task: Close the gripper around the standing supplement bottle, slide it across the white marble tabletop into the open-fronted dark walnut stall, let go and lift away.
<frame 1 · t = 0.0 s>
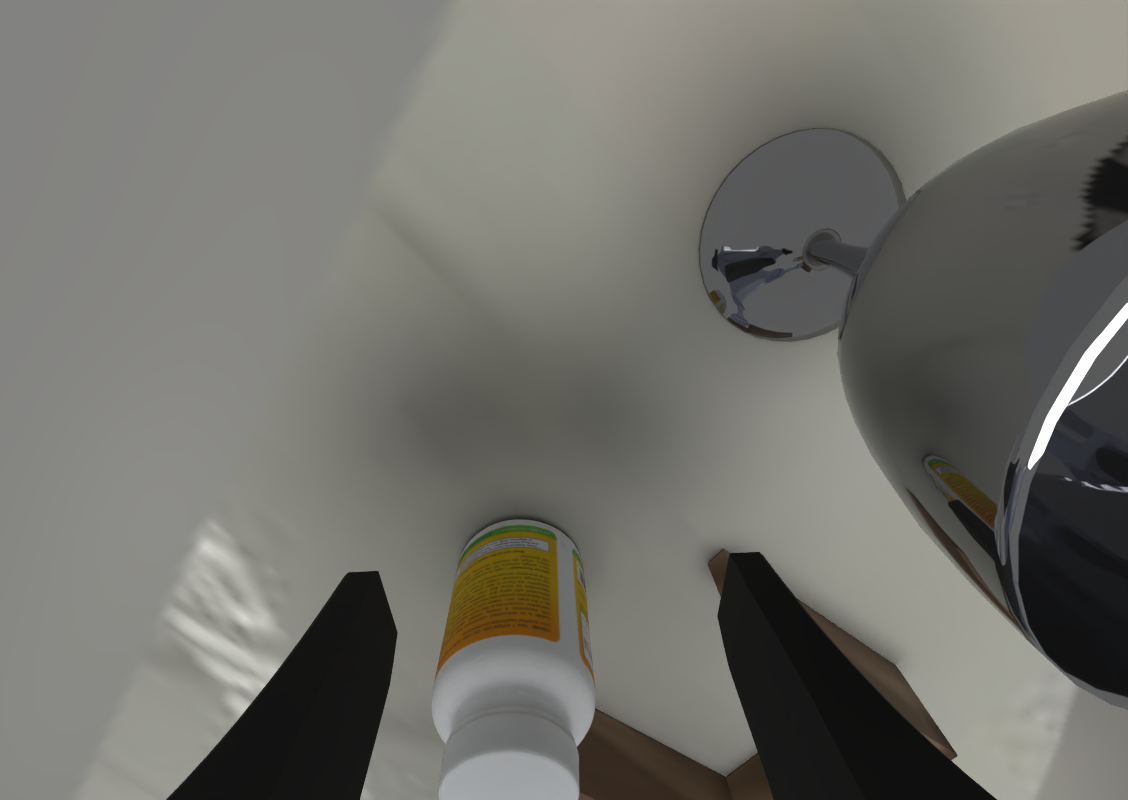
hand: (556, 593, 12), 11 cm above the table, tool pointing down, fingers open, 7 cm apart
wine glass: (799, 241, 20), on the table
supplement bottle: (521, 563, 25), on the table
walnut stall: (732, 690, 28), on the table
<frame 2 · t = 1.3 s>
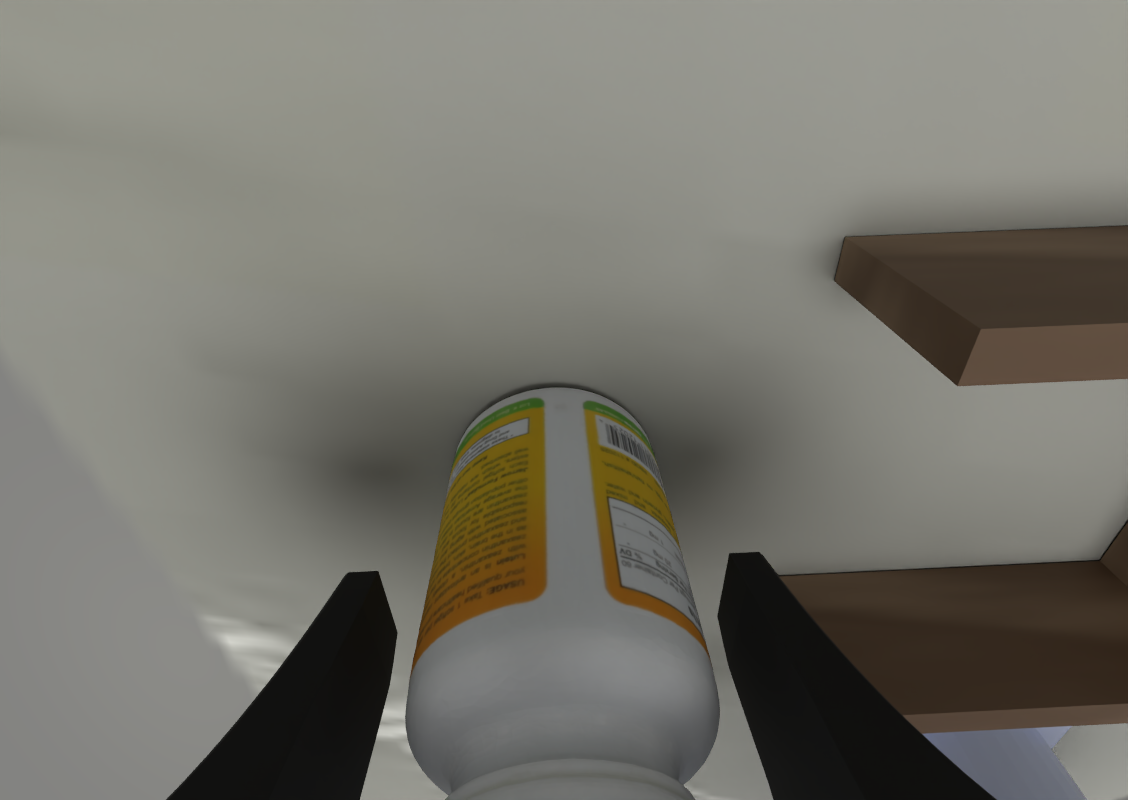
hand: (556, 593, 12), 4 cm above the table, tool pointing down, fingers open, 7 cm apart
supplement bottle: (554, 460, 16), on the table
walnut stall: (1027, 444, 16), on the table
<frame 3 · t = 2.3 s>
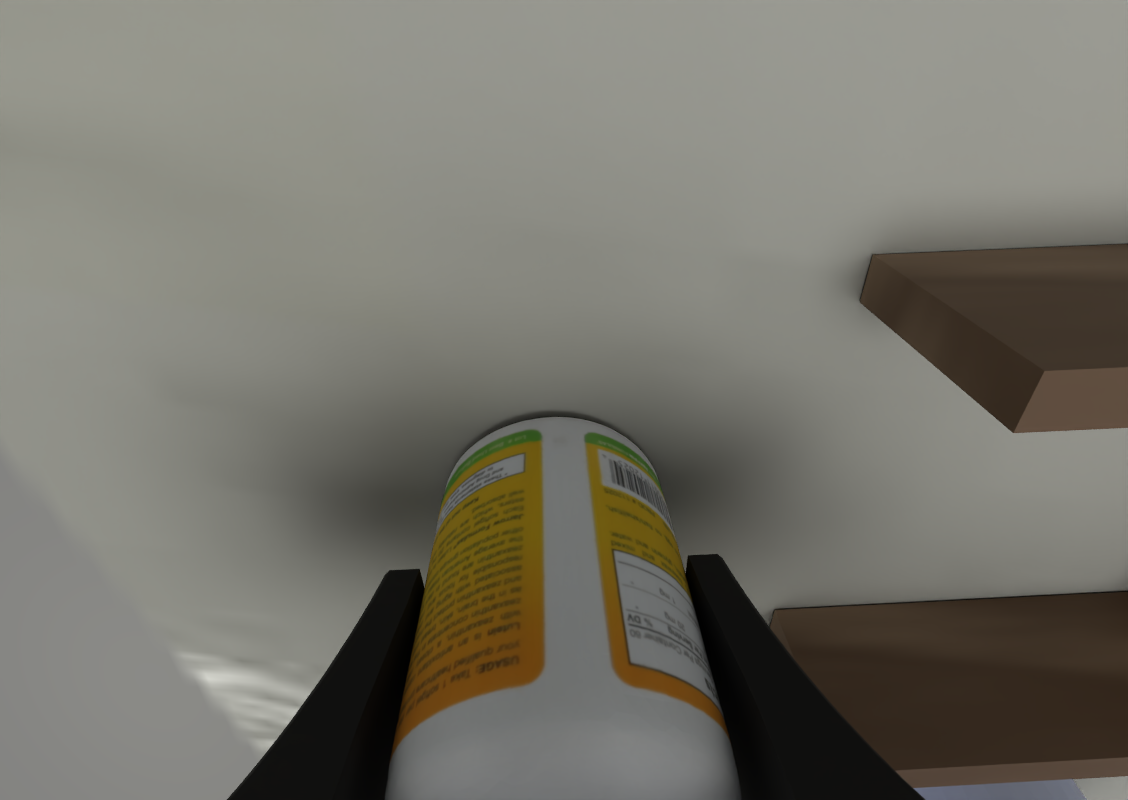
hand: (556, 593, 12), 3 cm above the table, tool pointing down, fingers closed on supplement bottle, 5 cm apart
supplement bottle: (553, 492, 14), on the table, touching gripper
walnut stall: (1061, 473, 15), on the table
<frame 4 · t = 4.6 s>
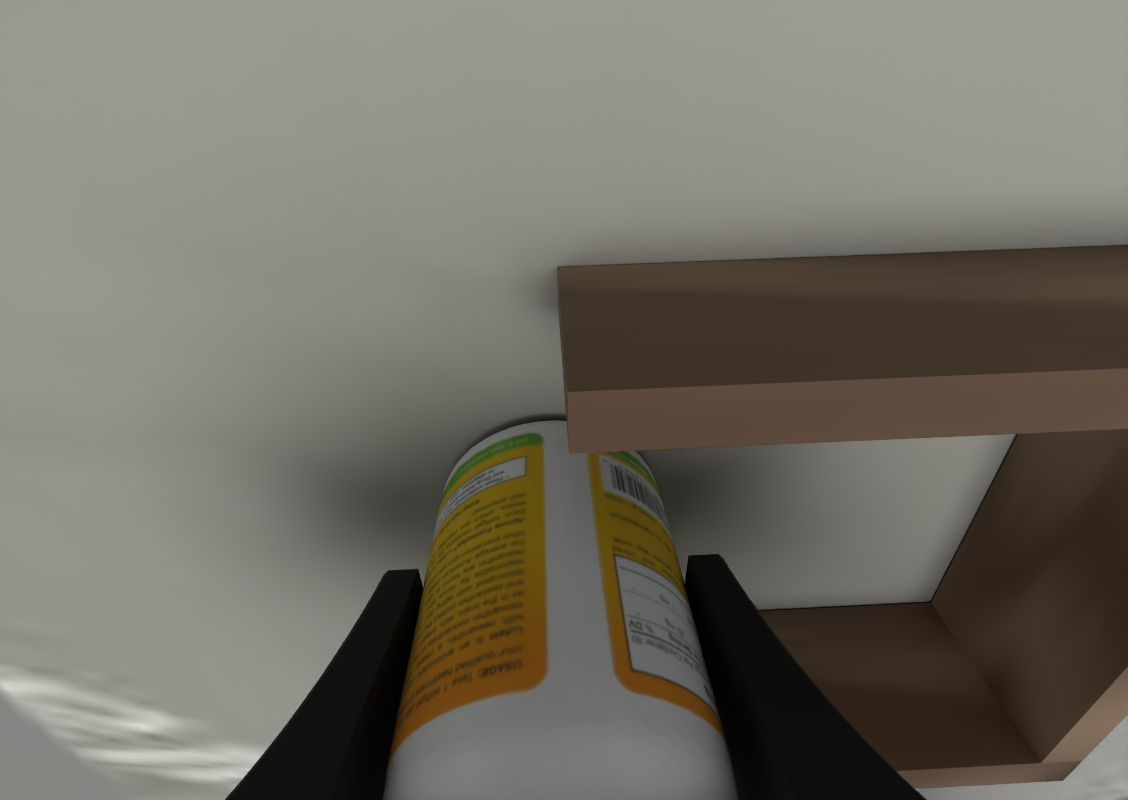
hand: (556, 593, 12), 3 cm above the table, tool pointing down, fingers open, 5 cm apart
supplement bottle: (550, 495, 14), on the table, touching gripper
walnut stall: (820, 485, 14), on the table
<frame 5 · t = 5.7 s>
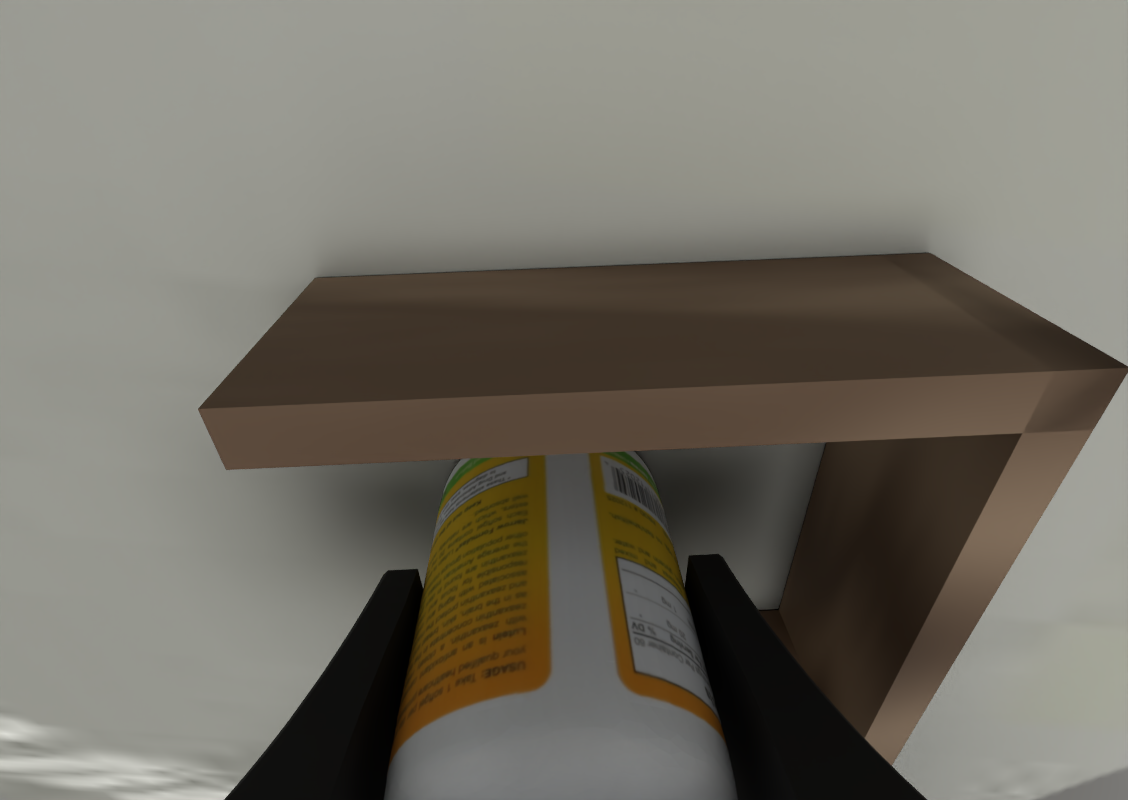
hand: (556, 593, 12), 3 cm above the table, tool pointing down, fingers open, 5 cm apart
supplement bottle: (550, 496, 15), on the table, touching gripper
walnut stall: (637, 493, 14), on the table
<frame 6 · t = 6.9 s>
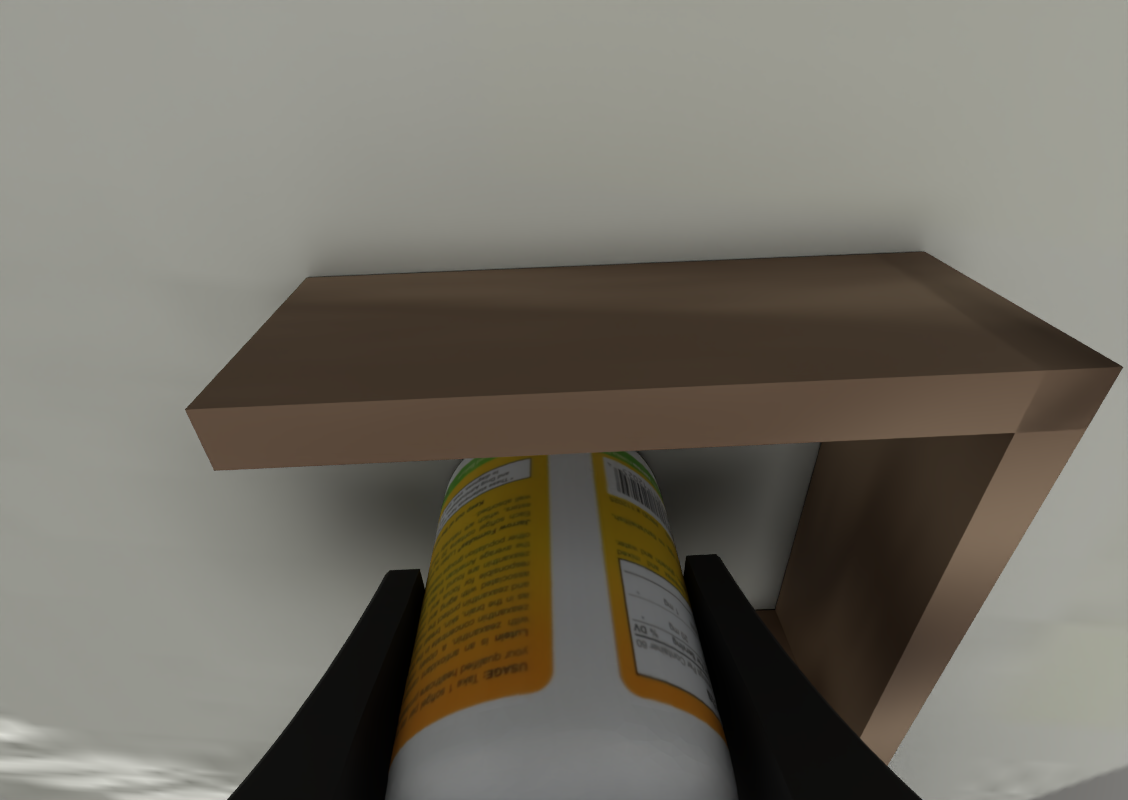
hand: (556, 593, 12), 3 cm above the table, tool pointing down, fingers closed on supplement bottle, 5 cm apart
supplement bottle: (552, 496, 15), on the table, touching gripper
walnut stall: (632, 493, 14), on the table
when the fingers open (3 cm above the table, at t = 7.0 s): supplement bottle stays where it is, on the table.
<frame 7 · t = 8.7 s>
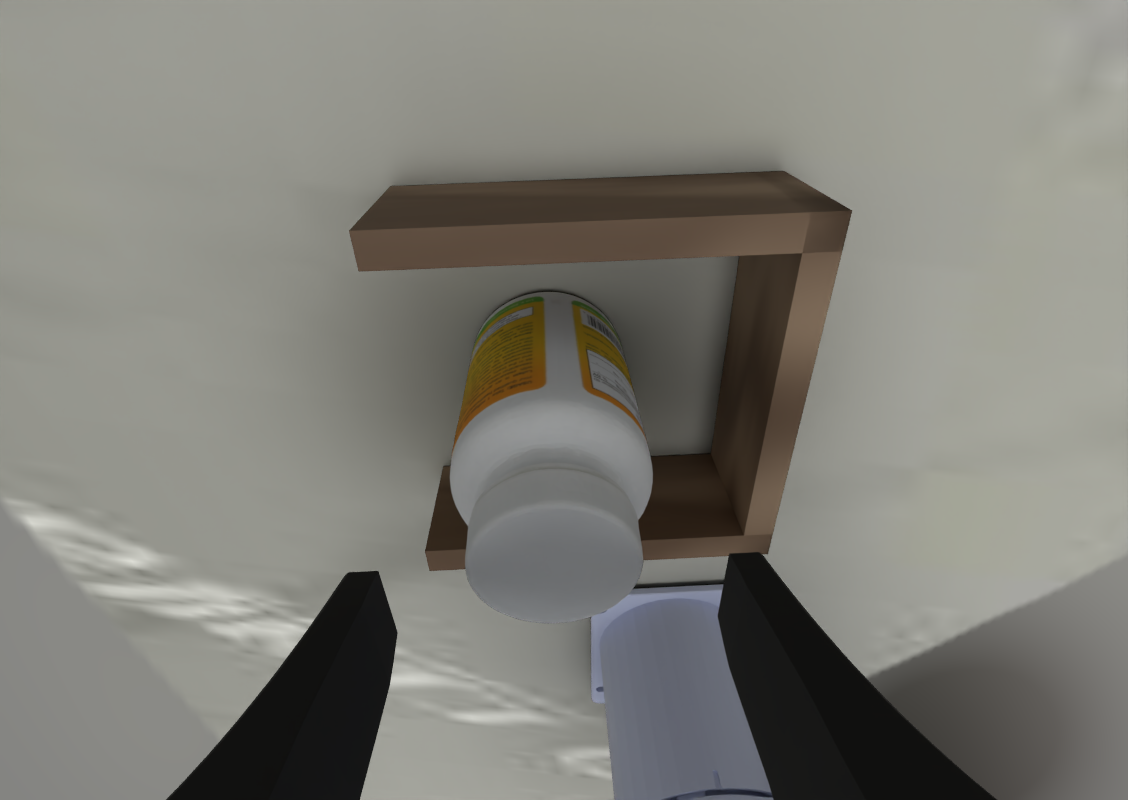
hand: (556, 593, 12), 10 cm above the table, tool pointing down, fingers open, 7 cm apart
supplement bottle: (547, 354, 21), on the table
walnut stall: (602, 351, 21), on the table
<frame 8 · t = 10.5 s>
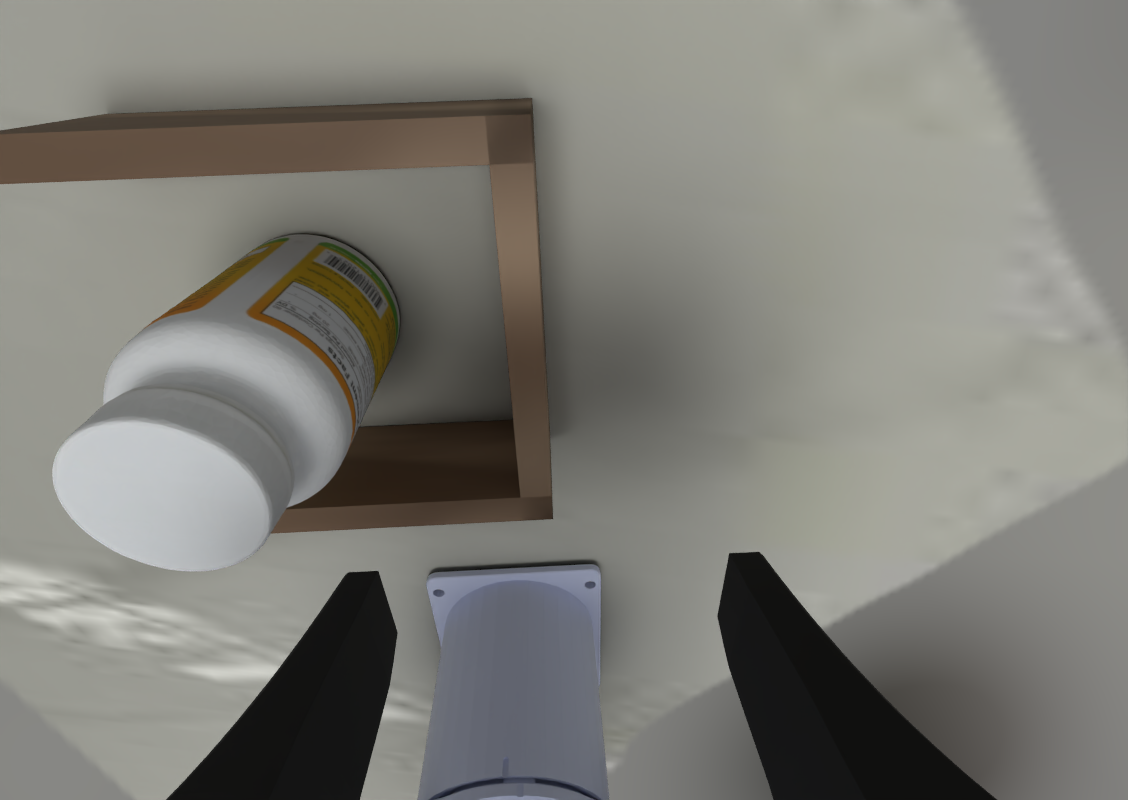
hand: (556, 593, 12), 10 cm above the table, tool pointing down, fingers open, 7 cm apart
supplement bottle: (324, 307, 20), on the table
walnut stall: (380, 303, 19), on the table
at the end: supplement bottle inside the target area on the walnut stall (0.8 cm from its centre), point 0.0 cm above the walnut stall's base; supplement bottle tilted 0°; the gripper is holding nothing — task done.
